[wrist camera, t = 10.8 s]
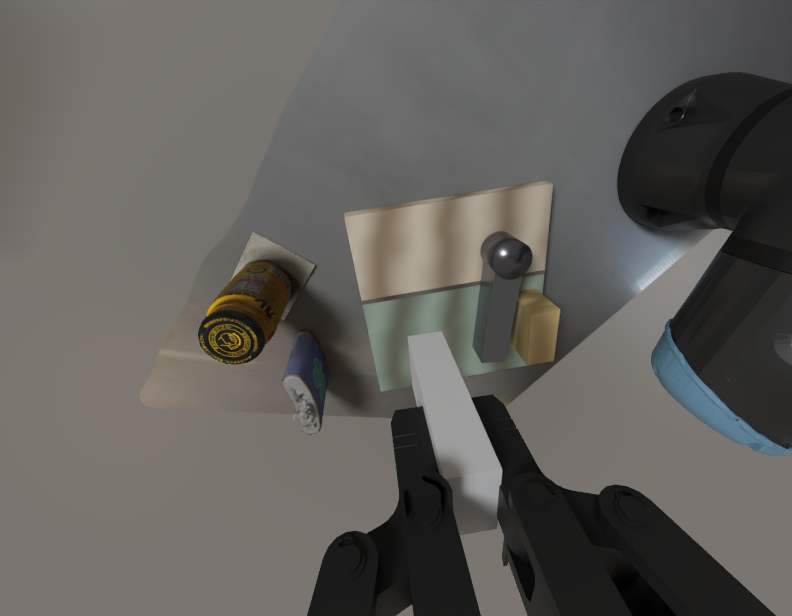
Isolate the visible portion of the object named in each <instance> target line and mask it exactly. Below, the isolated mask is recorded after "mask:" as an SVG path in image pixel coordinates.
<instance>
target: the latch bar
mask: <svg viewBox="0 0 792 616" xmlns="http://www.w3.org/2000/svg"><path fill="white" fill-rule="evenodd" d="M480 254H481V258H482V260H483V268H482V275H481V283H480V291H479V299H478V307H477V315H476V322H475V330H474V338H473V346H472V347H473V348H474V350H475V352H476V354H477V356H478V358H479V359H480V361H481V363H491V362H504V361H506V357H507V352H508V346H509V341H510V336H511V331H512V326H513V320H514V315H515V310H516V305H517V299H518V294H519V289H520V284H521V279H522V275H523V274H525V273H526V272H527V270H528V269H529V268H530V266H531V263H532V259H533V255H532V251H531V249H530V247H529V246H528V245H526V244H525V243H523V242H522V241H520V240H519V239H517V238H515V237H514V236H512V235H511V234H509V233H507V232H504V231H498V232H495V233H492V234H491V235H489V236H488V237H487V238H486V239H485V240H484V242H483V243H482V246H481V249H480Z"/></svg>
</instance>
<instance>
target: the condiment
mask: <svg viewBox="0 0 792 616" xmlns="http://www.w3.org/2000/svg"><path fill="white" fill-rule="evenodd" d="M264 256H267V257H266V258H264ZM262 257H263V259H261V258H262ZM314 267H315V265H314V264H312V263H310V262H309V261H307V260H305V259H303V258H302V257H300V256H298V255H296V254H294V253H293V252H291V251H289V250H287V249H285V248H283V247H281V246H280V245H277V244H275V243H273V242H271V241H270V240H268V239H266V238H264V237H262V236H260V235H258V234H256V233H254V232H253V233H252V235H251V237H250V239H249V242H248V244H247V246H246V248H245V250H244V252H243V254H242V257H241V259H240V261H239V263H238V266H237V268H236V270H235V272H234V274H233V277H232V279H231V281H230V283H229V284H228V285H227V286H226V287H225V288H224V290H222V291H221V292H220V294H219V295H218V297H217V298H216V299H215V300H214V301H213V302H212V303H211V304H210V307H209V309H208V312H207V316H206V318H205V319H204V321H202V323H201V326H200V328H199V332H198V337H199V341H200V345H201V347H202V348H203V350H204V351H205V352H206V353H207V354H208V355H210V356H211V357H212V358H214V359H216V360H218V361H220V362H224V363H226V364H242V363H248V362H249V361H251V360H253V359H254V358H256V357H257V356H258V355H259V354H260V353H261V352H262V350H263V347H264V346H265V344H266V343H268V342H269V341H270V339H271V338H272V337H273V335H274V333H275V332H276V329H277V326H278V324H279V321H280V319H281V320H285V318H286V316H287V315H288V313H289V311H290V309H291V307H292V306H293V304H294V302H295V300H296V299H297V297H298V295H299V293H300V292H301V290H302V288H303V286H304V284H305V283H306V281H307V279H308V277H309V276H310V274H311V272H312V270H313V269H314ZM293 280H294V281H293Z"/></svg>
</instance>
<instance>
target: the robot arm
mask: <svg viewBox="0 0 792 616" xmlns="http://www.w3.org/2000/svg"><path fill="white" fill-rule="evenodd" d="M618 194H619V199H620V202H621V204H622V207H623V208H624V210H625V212H626V213H627V214H628V215H629V216H630V217H631V218H632V219H633V220H635V221H636V222H638V223H640V224H642V225H646V226H649V227H652V228H655V229H659V230H666V231H683V230H701V229H719V228H723V229H728V230H732V231H733V232H732V233H731V235H730V236H729V237H728V239H727V241H726V242H725V244H724V245H723V246H722V248H721V249H720V250H719V252H718V253H717V255H716V256H715V258H714V259H713V261H712V262H711V264H710V265H709V267H708V268H707V270H706V271H705V273H704V274H703V276H702V277H701V279H700V280H699V282H698V283H697V285H696V286H695V288H694V289H693V291H692V292H691V293H690V295H689V296H688V298H687V299H686V301H685V302H684V303H683V305H682V306H681V308H680V309H679V311H678V312H677V314H676V315H675V317H674V318H673V319H670V320H669V321H668V322H667V323H666V325H665V331H664V333H663V335H662V336H661V338H660V340H659V341H658V343H657V345H656V347H655V348H654V350H653V352H652V356H651V364H652V368H653V370H654V373H655V375H656V376H657V377H658V378H659V381H660V383H661V384H662V385H663V387H664V388H665V389H666V390H667V391H668V393H669V394H670V395H671V396H672V397H673V398H674V399H675V400H676V401H677V402H678V403H680V404H681V405H682V406H683V407H684V408H685V409H686V410H688V411H689V412H690V413H691V414H693V415H694V416H695V417H697V418H698V419H699V420H701V421H702V422H703V423H705V424H706V425H708V426H709V427H711V428H712V429H714V430H715V431H717V432H718V433H720V434H722V435H723V436H725V437H727V438H729V439H730V440H732V441H734V442H736V443H738V444H741V445H748V446H749V447H750V448H752V449H753V450H754V451H756V452H759V453H762V454H766V455H771V456H785V455H788V454H792V84H789V83H785V82H781V81H777V80H773V79H769V78H765V77H761V76H757V75H753V74H749V73H742V72H729V73H721V74H715V75H710V76H704V77H700V78H697V79H694V80H691V81H689V82H686V83H684V84H682V85H681V86H679V87H677V88H676V89H674V90H672V91H671V92H670V93H668V94H667V95H666V96H664V97H663V98H662V99H661V100H660V101H659V102H657V103H656V104H655V105H654V106H653V107H652V108H651V110H650V111H649V112H648V113H647V114H646V115H645V116H644V118H643V119H642V120H641V122H640V123H639V124H638V126H637V127H636V129H635V131H634V132H633V134H632V136H631V138H630V139H629V141H628V143H627V146H626V148H625V150H624V153H623V156H622V159H621V163H620V167H619V172H618ZM408 346H409V357H410V367H411V377H412V386H413V390H414V395H415V399H416V403H417V407H415V408H408V409H402V410H395V413H394V415H393V418H392V421H391V429H392V437H393V444H394V453H395V462H396V470H397V477H398V486H399V501H398V505H397V508H396V510H395V512H394V514H393V515H392V516H391V517H390V518H389V520H387V522H385V523H383V524H382V525H381V526H379V527H377V528H375V529H374V530H372V531H370V532H368V533H367V534H365V533H362V532H359V531H351V532H346V533H344V534H342V535H340V536H339V537H337V538H336V539H335V540H334V541H333V542H332V543H331V544H330V546H329V547H328V549H327V551H326V553H325V555H324V558H323V560H322V564H321V568H320V571H319V575H318V579H317V583H316V586H315V589H314V593H313V597H312V600H311V604H310V607H309V611H308V615H307V616H396V615H397V614H399V613H400V612H401V611H403V610H404V609H406V608H407V607H409V606H410V605H413V613H414V616H481V615H480V611H479V607H478V603H477V600H476V596H475V592H474V588H473V584H472V580H471V577H470V573H469V569H468V565H467V562H466V558H465V554H464V550H463V546H462V542H461V538H460V535H464V534H469V533H475V532H480V531H486V530H492V529H497V523H498V521H499V523H500V526H501V528H502V532H503V534H504V543H503V552H502V560H503V566H507V564H508V562H509V564H510V567H511V570H512V572H513V576H514V578H515V581H516V584H517V587H518V590H519V593H520V595H521V598H522V601H523V603H524V606H525V609H526V612H527V615H528V616H776V615H775V614H773V613H772V612H771V611H770V610H769V609H768V608H767V607H766V606H765V605H764V604H763V603H762V602H760V601H759V600H758V599H757V598H756V597H755V596H754V595H753V594H752V593H751V592H750V591H748V590H747V589H746V588H745V587H744V586H743V585H742V584H741V583H740V582H739V581H738V580H737V579H735V578H734V577H733V576H732V575H731V574H730V573H729V572H728V571H727V570H726V569H725V568H724V567H723V566H721V565H720V564H719V563H718V562H717V561H716V560H715V559H714V558H713V557H712V556H711V555H709V554H708V553H707V552H706V551H705V550H704V549H703V548H702V547H701V546H699V544H698V543H696V542H695V541H694V540H693V539H692V538H691V537H690V536H689V535H687V533H686V532H685V531H683V530H682V529H681V528H680V527H679V526H678V525H677V524H676V523H674V521H673V520H672V519H670V518H669V517H668V516H667V515H666V514H665V513H664V512H663V511H662V510H661V509H660V508H658V507H657V506H656V505H655V504H654V503H653V502H652V501H651V500H650V499H648V498H647V497H645V496H644V495H643V494H642V493H640V492H639V491H636V490H634V489H632V488H629V487H627V486H621V485H611V486H607V487H605V488H604V489H603V490H602V491H601V492H600V494H599V495H596V494H590V493H584V492H577V491H572V490H568V489H564V488H562V487H560V486H558V485H556V484H555V483H554V482H552V481H551V480H550V479H548V478H547V477H546V476H545V475H544V474H543V473H542V472H541V470H540V469H539V467H538V466H537V464H536V462H535V460H534V458H533V457H532V455H531V453H530V451H529V449H528V447H527V446H526V444H525V442H524V440H523V438H522V437H521V435H520V433H519V431H518V429H516V426H515V424H514V422H513V420H512V419H511V417H510V415H509V413H508V411H507V409H506V407H505V406H504V404H503V403H502V402H501V401H499V400H498V399H497V398H496V397H495V396H493V395H486V396H480V397H474V398H471V397H470V394H469V392H468V390H467V388H466V385H465V383H464V381H463V379H462V376H461V374H460V372H459V369H458V367H457V365H456V363H455V360H454V358H453V356H452V353H451V351H450V349H449V347H448V344H447V342H446V340H445V337H444V335H443V333H442V331H440V332H434V333H427V334H420V335H413V336H408Z"/></svg>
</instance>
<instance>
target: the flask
mask: <svg viewBox="0 0 792 616" xmlns="http://www.w3.org/2000/svg"><path fill="white" fill-rule="evenodd" d="M304 331H305V330H304ZM328 376H329V372H328V367H327V361H326V358H325V357H324V354H323V352H322V350H321V347H320V346H319V343H318V342H317V339H316V337H315V336H314V335H313V334H312V333H310V331H305V332H303V331H300V332H298V333H297V334H296V336H295V340H294V343H293V347H292V351H291V354H290V357H289V361H288V364H287V367H286V370H285V374H284V376H283V379H282V385H283V388H284V389H285V390H286V392H287V394H288V395H289V396H290V398H291V400H292V402H293V404H294V406H295V408H296V411H297V412H295V413H294V420H296V417H299V422H300V429H301V431H302V432H304V433H306V434H309V435H312V434H316V433H317V432H319V431H320V429H321V424H322V416H323V409H324V402H325V395H326V388H327V383H328Z"/></svg>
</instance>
